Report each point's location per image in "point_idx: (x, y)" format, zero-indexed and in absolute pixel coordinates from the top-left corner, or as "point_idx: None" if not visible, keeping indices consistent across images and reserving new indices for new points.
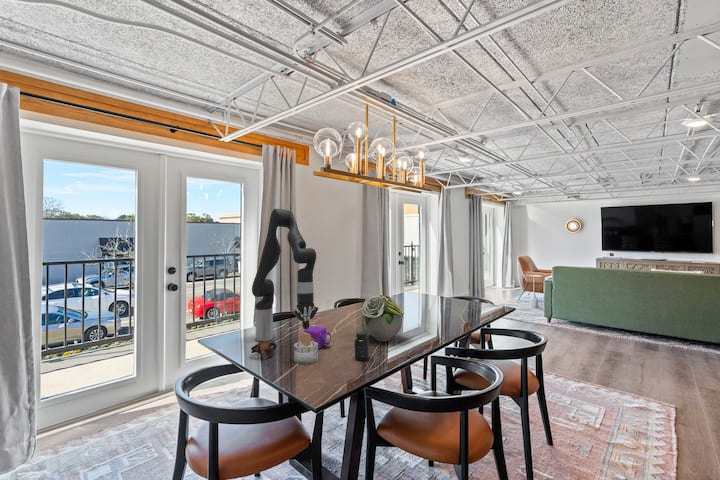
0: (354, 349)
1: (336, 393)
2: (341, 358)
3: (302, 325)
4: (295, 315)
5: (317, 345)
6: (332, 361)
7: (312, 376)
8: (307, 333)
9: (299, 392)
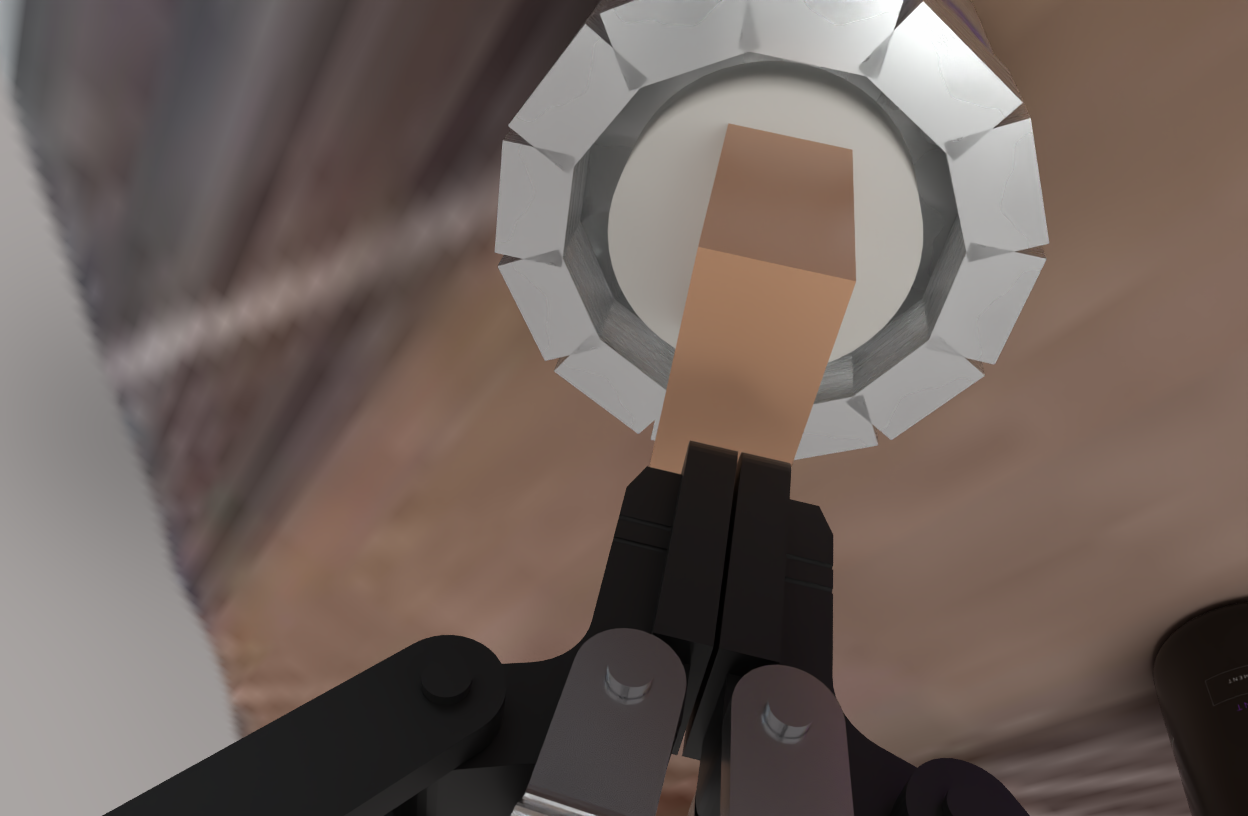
0: (1233, 721)
1: None
2: (1130, 487)
3: (620, 519)
4: (152, 810)
5: (869, 442)
6: (955, 462)
7: (480, 542)
8: (787, 409)
9: (241, 631)
